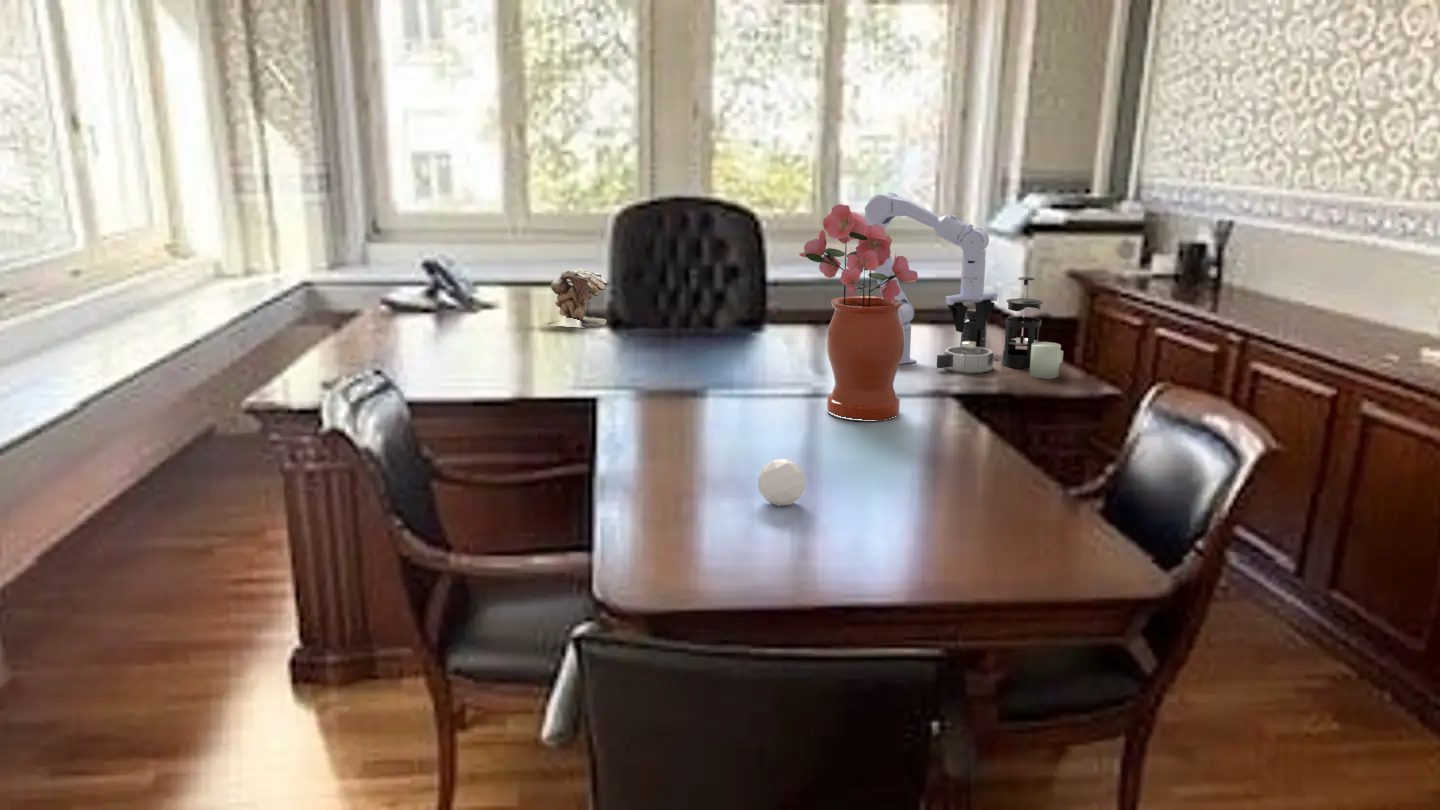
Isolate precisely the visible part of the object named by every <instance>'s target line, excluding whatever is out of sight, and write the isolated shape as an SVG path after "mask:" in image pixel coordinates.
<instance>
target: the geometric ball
mask: <svg viewBox="0 0 1440 810" xmlns="http://www.w3.org/2000/svg"><path fill="white" fill-rule="evenodd" d="M757 479H758V480H757V482H758V492H759V493H760V494H761V495H762V496H763V499H765V501H767V502H768V503H770V504H773V505H774V506H776V505H777V507H783V506H791V505H792V504H793V503H795V502H797V501H798V500H799V499H801V498H802V495H803V493H804V490H805V487H806V481H805V480H806V478H805V473H804V471H802V469H801V467H800V466H799V464H797V463H796V462H793V461H791V460H789V459H787V458H781V459H773V460H772V461H770V462H769V463H767V464H766V465H764V466H763V467H762V469H761V470H760V473H759V475H758V478H757Z"/></svg>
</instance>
